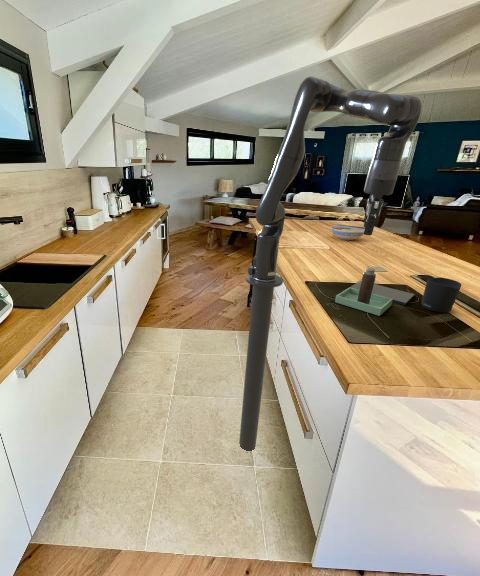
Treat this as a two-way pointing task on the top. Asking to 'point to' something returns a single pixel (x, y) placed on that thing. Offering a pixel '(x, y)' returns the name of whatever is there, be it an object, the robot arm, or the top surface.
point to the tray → (375, 305)
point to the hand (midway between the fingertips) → (367, 230)
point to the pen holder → (440, 294)
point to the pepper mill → (366, 286)
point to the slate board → (389, 293)
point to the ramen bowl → (347, 231)
